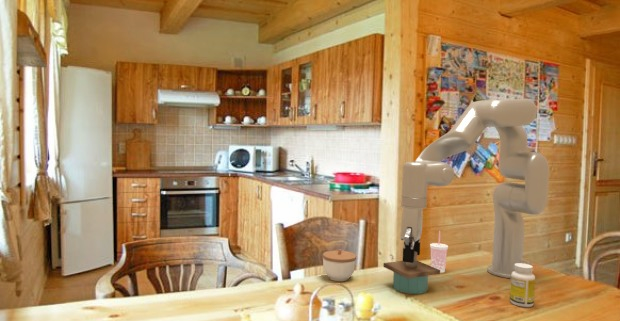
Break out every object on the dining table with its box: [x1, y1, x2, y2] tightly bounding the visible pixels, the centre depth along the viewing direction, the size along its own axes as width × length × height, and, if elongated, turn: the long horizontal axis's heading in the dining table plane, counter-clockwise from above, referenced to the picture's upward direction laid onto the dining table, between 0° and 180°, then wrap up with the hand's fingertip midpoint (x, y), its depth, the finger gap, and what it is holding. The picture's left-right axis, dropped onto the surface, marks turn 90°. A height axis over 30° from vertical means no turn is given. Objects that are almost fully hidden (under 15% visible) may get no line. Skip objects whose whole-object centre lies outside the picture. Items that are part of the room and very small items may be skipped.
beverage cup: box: [429, 230, 449, 274], centre depth 155 cm, size 6×6×14 cm
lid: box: [383, 251, 441, 278], centre depth 136 cm, size 12×12×6 cm
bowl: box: [392, 272, 429, 295], centre depth 136 cm, size 10×10×6 cm
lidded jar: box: [322, 248, 357, 282], centre depth 144 cm, size 11×11×9 cm
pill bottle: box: [509, 263, 536, 308], centre depth 126 cm, size 6×6×11 cm
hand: (411, 258), depth 136 cm, fingers open, 9 cm apart
